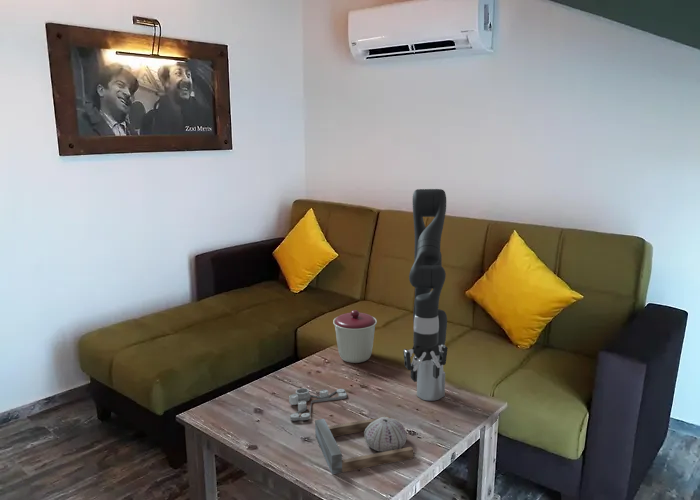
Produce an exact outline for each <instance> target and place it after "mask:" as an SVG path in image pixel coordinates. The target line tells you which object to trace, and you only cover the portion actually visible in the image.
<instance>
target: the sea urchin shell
mask: <svg viewBox="0 0 700 500" xmlns="http://www.w3.org/2000/svg"><path fill="white" fill-rule="evenodd" d="M377 418H378V419H377V420H375V421H373V422H371V423H370V424H369V426H367V428H366V429H365V431H363V435H364V439H365V443H366V444H367V446H368V447H369V448H370V449H372V450H374V451H376V452H378V453H381V452H386V451H391V450H396V449H402V448H404V446H405V444H406V441H407V439H408V438H407V437H408V436H407V435H408V434H407V431H406V429H405V427H404V424H402V423H401V422H400V421H398V420H397V419H395V418H391V417H390V418H388V417H386V416H382V417H381V418H380V417H377Z"/></svg>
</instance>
